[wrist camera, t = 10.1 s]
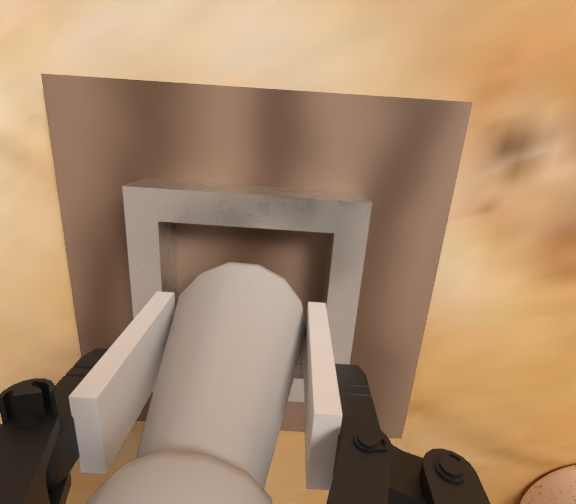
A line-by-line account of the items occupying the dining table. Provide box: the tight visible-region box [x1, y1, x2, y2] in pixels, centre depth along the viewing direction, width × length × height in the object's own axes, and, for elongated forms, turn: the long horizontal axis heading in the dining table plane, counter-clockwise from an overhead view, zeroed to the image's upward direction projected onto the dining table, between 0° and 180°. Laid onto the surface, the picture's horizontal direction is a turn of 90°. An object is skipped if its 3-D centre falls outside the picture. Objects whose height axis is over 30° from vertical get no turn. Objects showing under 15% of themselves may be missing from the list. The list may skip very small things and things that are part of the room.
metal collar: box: [122, 178, 372, 402], centre depth 19 cm, size 11×11×2 cm
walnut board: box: [41, 74, 472, 438], centre depth 21 cm, size 20×20×1 cm
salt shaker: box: [86, 262, 306, 504], centre depth 12 cm, size 6×6×13 cm
